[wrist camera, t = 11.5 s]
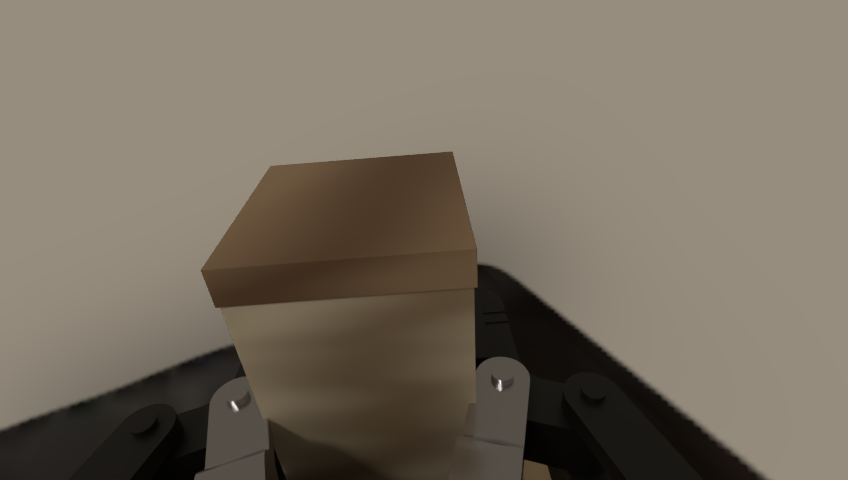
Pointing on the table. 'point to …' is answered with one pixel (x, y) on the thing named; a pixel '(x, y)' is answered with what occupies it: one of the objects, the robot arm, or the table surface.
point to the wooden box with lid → (355, 313)
